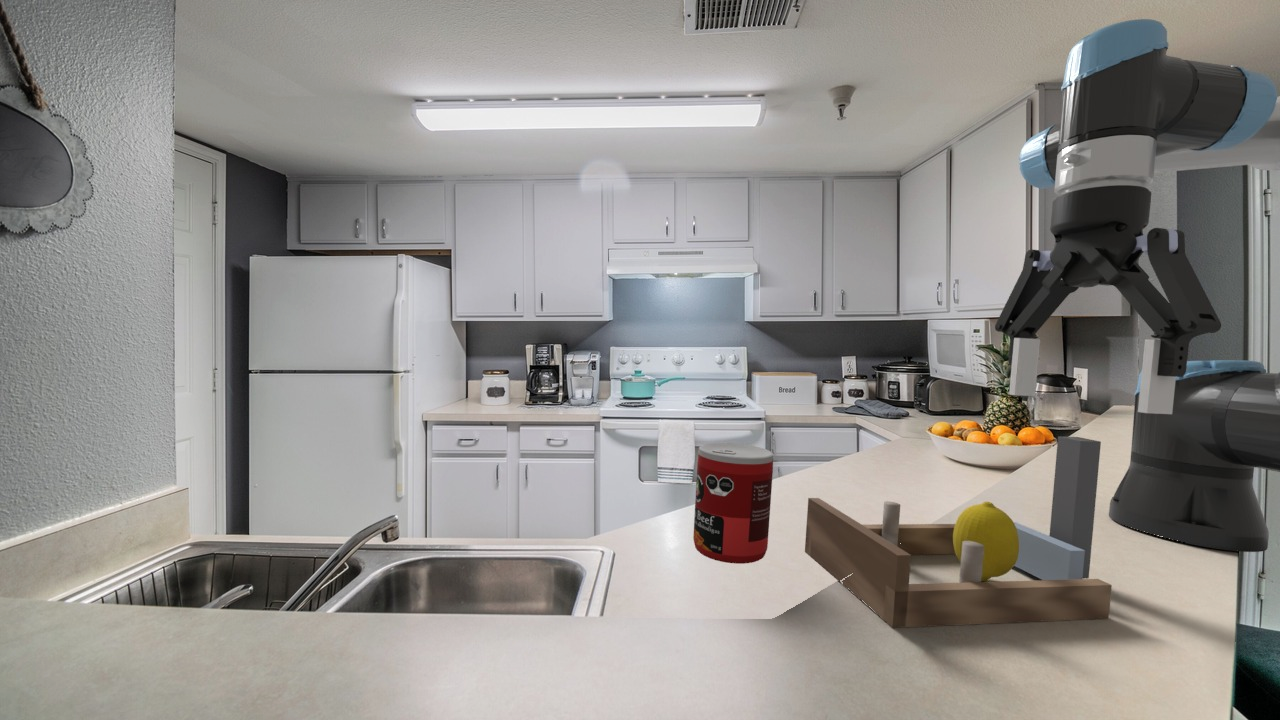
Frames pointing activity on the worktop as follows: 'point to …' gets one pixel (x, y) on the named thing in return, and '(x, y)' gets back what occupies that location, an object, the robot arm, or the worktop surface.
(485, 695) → the worktop surface
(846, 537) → the lane
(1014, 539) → the lemon
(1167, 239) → the robot arm
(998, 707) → the worktop surface
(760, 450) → the canned food
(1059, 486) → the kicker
